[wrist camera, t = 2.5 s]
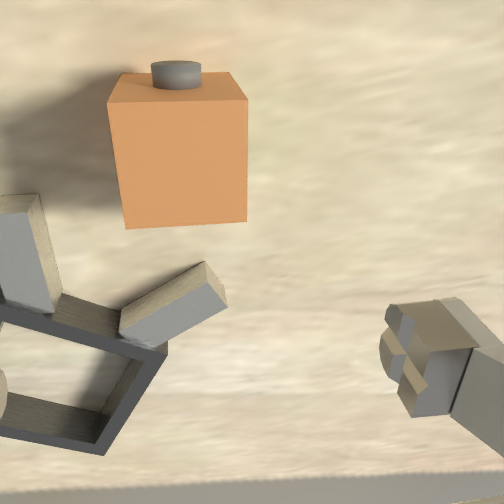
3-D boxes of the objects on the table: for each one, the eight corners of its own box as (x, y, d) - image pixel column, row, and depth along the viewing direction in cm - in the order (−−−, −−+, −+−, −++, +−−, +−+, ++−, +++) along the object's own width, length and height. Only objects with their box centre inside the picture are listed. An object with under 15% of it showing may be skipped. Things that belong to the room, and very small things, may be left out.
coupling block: (136, 189, 23) (127, 246, 18) (119, 54, 20) (102, 78, 15) (230, 185, 24) (246, 238, 19) (228, 53, 21) (248, 76, 16)
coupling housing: (-74, 385, 28) (-94, 418, 26) (-2, 177, 22) (-20, 198, 20) (130, 430, 33) (127, 460, 31) (232, 272, 27) (237, 296, 25)
